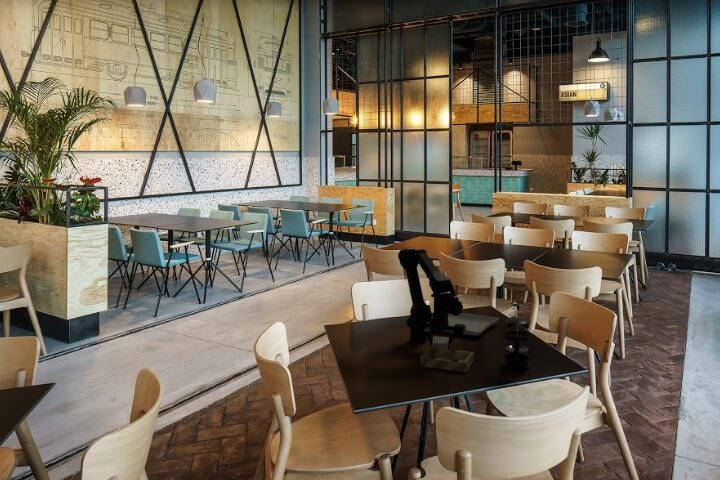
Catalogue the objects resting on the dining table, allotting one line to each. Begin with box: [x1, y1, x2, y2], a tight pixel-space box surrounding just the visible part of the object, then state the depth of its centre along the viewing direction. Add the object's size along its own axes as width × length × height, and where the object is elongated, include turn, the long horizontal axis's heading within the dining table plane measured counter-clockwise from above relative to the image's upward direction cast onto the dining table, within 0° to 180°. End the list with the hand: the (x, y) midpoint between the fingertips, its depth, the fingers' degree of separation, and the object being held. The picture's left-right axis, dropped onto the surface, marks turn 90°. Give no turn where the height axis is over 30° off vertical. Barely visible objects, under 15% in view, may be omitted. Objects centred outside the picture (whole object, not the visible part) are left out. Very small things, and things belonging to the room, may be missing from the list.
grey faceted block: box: [432, 335, 449, 349], centre depth 233 cm, size 6×9×4 cm, turn 168°
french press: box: [502, 303, 532, 371], centre depth 215 cm, size 12×9×23 cm
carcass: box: [419, 346, 475, 373], centre depth 219 cm, size 17×13×4 cm
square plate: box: [431, 312, 500, 337], centre depth 266 cm, size 27×27×4 cm
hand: (440, 348), depth 233 cm, fingers closed on grey faceted block, 6 cm apart
